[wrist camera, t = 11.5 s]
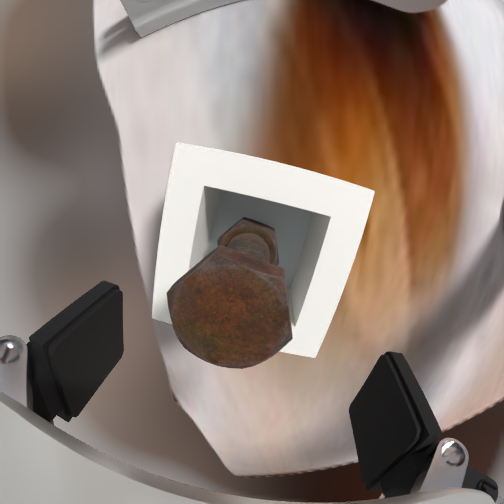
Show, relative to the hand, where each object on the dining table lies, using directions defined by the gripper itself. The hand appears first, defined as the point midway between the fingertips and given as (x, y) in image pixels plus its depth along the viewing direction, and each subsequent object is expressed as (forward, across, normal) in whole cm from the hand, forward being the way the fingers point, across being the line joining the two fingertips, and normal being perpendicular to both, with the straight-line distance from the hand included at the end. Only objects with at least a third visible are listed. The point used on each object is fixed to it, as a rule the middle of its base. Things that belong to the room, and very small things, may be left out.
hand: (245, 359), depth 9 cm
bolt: (+18, +1, 0) cm, 18 cm away
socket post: (+19, +1, 0) cm, 19 cm away
